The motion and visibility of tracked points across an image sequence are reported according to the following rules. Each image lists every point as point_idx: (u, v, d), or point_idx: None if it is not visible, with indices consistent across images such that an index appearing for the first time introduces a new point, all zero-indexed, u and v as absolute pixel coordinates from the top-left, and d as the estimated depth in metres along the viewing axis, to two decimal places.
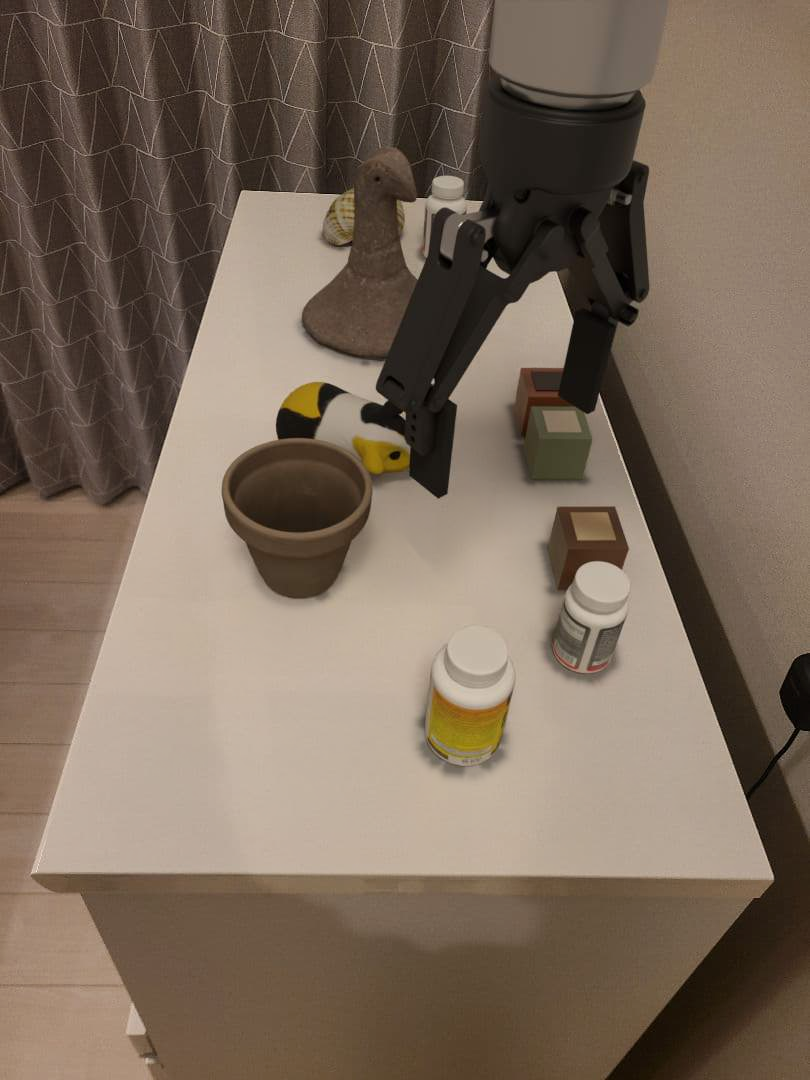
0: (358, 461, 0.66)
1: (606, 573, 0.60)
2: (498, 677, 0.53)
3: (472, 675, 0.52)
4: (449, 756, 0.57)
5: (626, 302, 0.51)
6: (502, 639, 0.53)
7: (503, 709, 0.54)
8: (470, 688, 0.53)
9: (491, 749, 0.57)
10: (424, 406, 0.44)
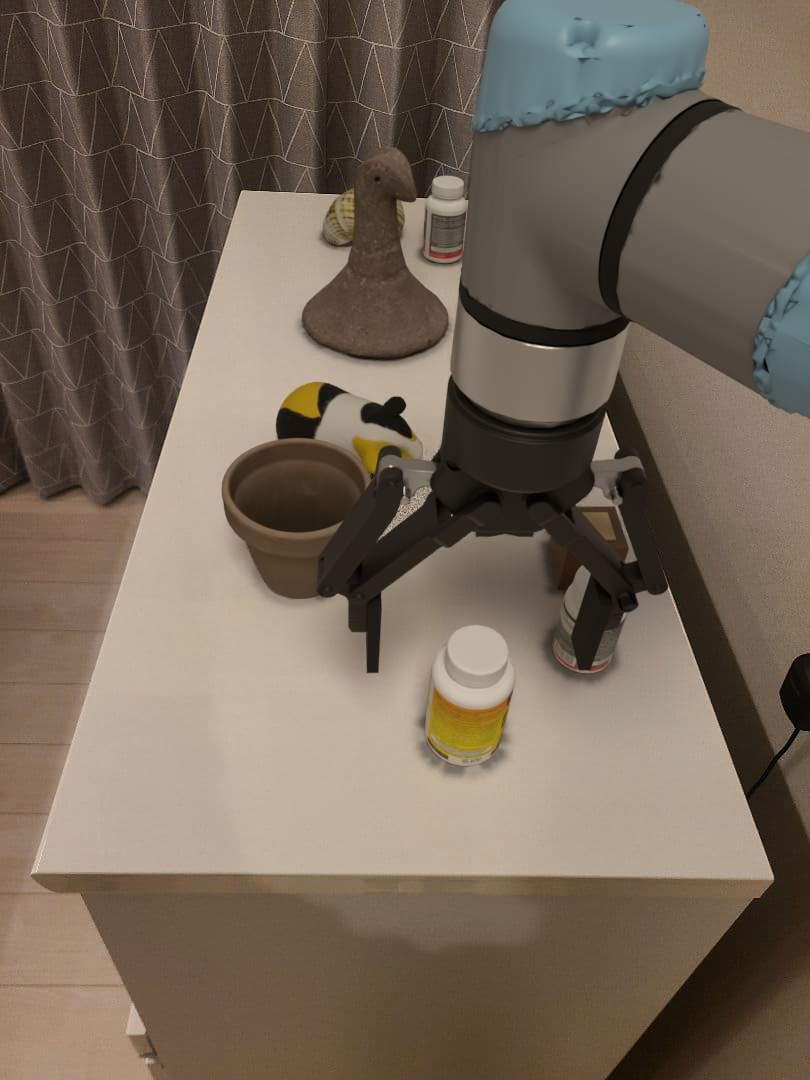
0: (358, 461, 0.66)
1: None
2: (498, 677, 0.53)
3: (473, 675, 0.52)
4: (449, 756, 0.57)
5: (629, 589, 0.48)
6: (502, 639, 0.53)
7: (503, 709, 0.54)
8: (470, 688, 0.53)
9: (491, 749, 0.57)
10: (349, 595, 0.48)
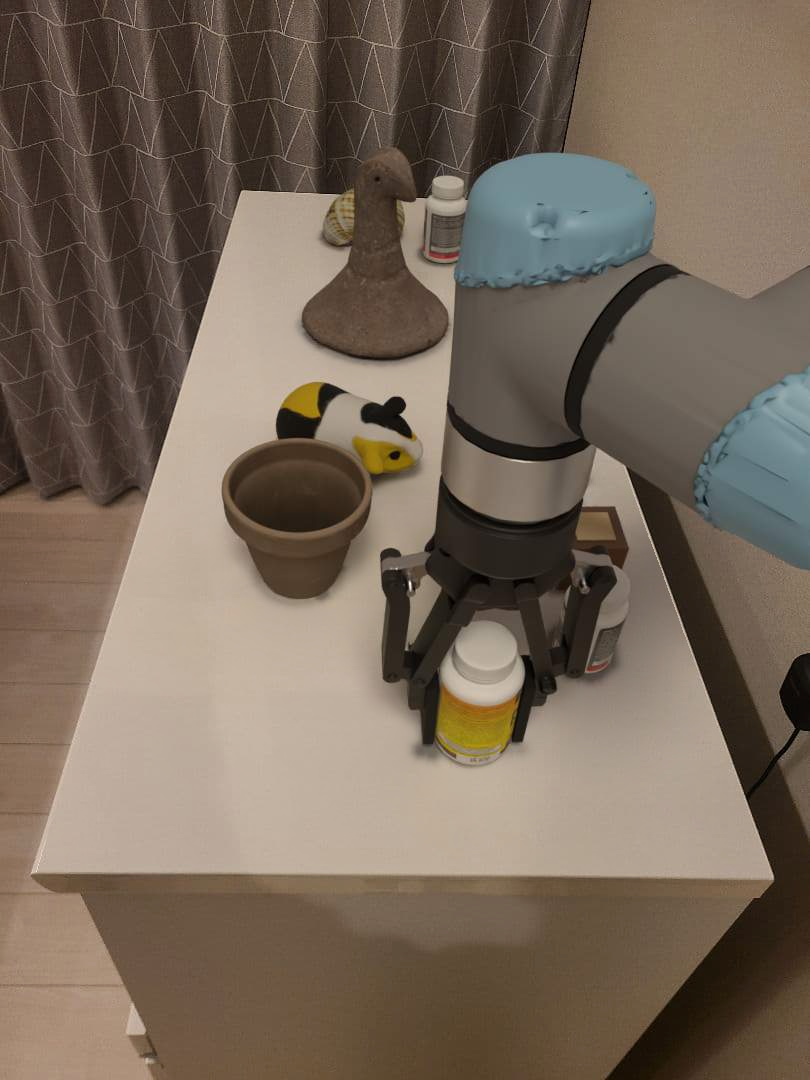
0: (358, 461, 0.66)
1: None
2: (506, 673, 0.52)
3: (480, 670, 0.51)
4: (457, 755, 0.56)
5: (553, 675, 0.53)
6: (511, 635, 0.53)
7: (512, 706, 0.53)
8: (478, 684, 0.52)
9: (500, 748, 0.56)
10: None
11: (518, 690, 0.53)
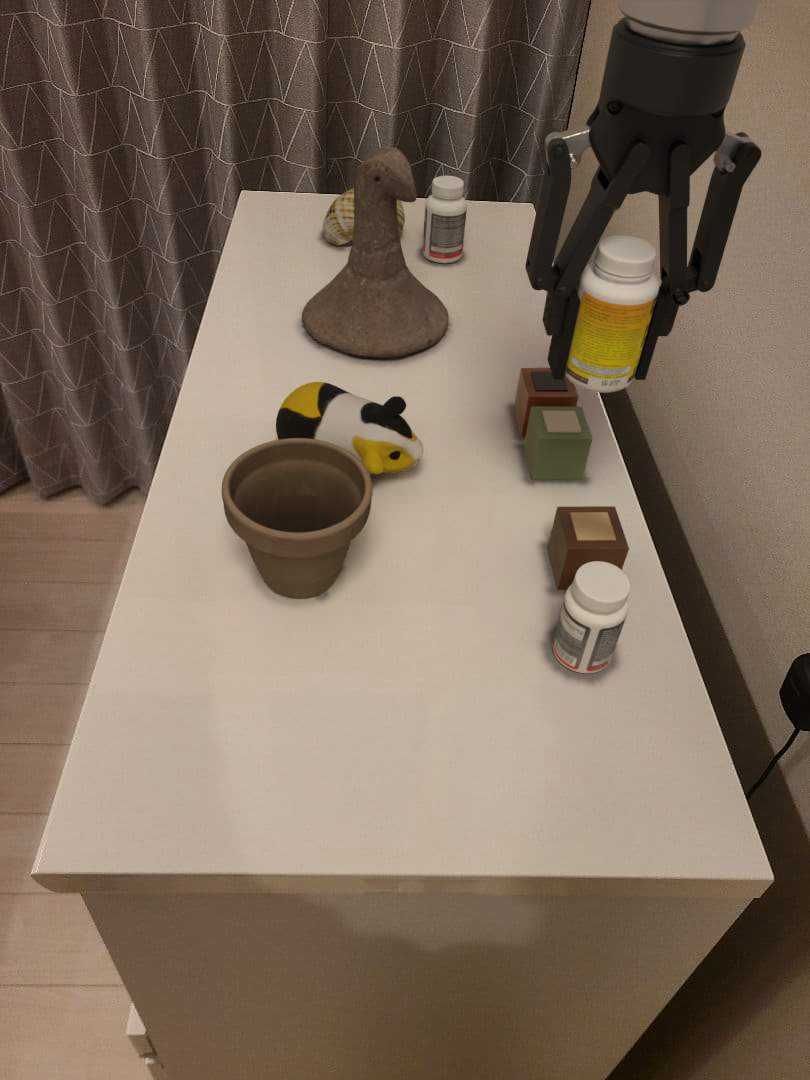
0: (358, 461, 0.66)
1: (606, 573, 0.60)
2: (647, 272, 0.56)
3: (626, 263, 0.55)
4: (589, 379, 0.61)
5: (685, 286, 0.58)
6: (649, 243, 0.57)
7: (647, 315, 0.58)
8: (620, 285, 0.57)
9: (629, 373, 0.61)
10: (555, 294, 0.58)
11: (655, 295, 0.57)
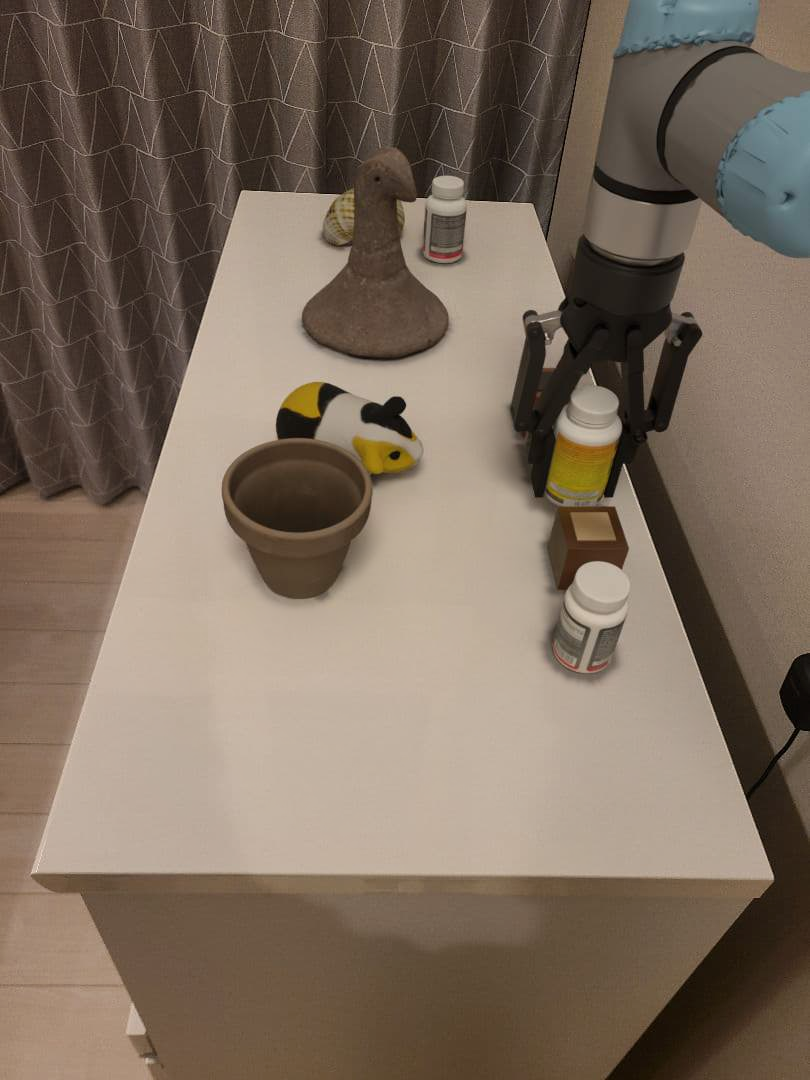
0: (358, 461, 0.66)
1: (606, 573, 0.60)
2: (611, 420, 0.67)
3: (592, 414, 0.66)
4: (564, 500, 0.72)
5: (644, 428, 0.69)
6: (613, 393, 0.68)
7: (612, 452, 0.69)
8: (588, 429, 0.68)
9: (598, 495, 0.72)
10: (535, 433, 0.69)
11: (618, 437, 0.68)
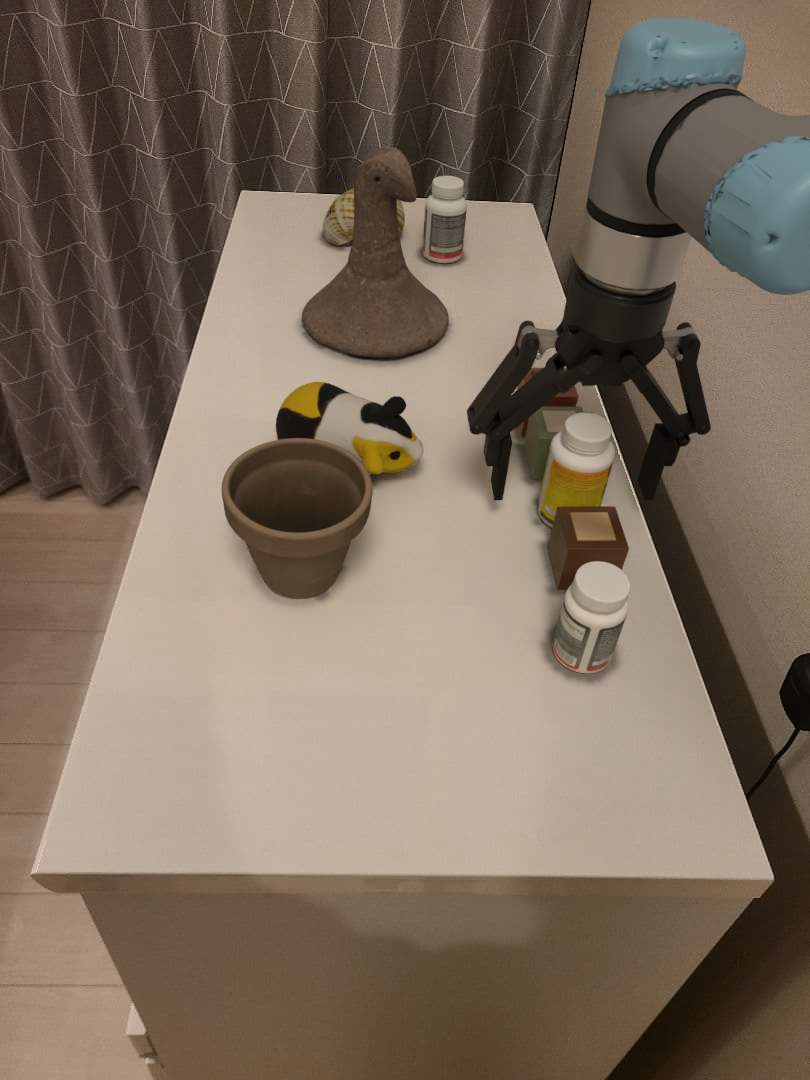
0: (358, 461, 0.66)
1: (606, 573, 0.60)
2: (604, 447, 0.69)
3: (586, 442, 0.68)
4: None
5: (684, 429, 0.69)
6: (606, 421, 0.70)
7: (605, 477, 0.71)
8: (582, 456, 0.70)
9: None
10: (489, 434, 0.69)
11: (611, 463, 0.70)
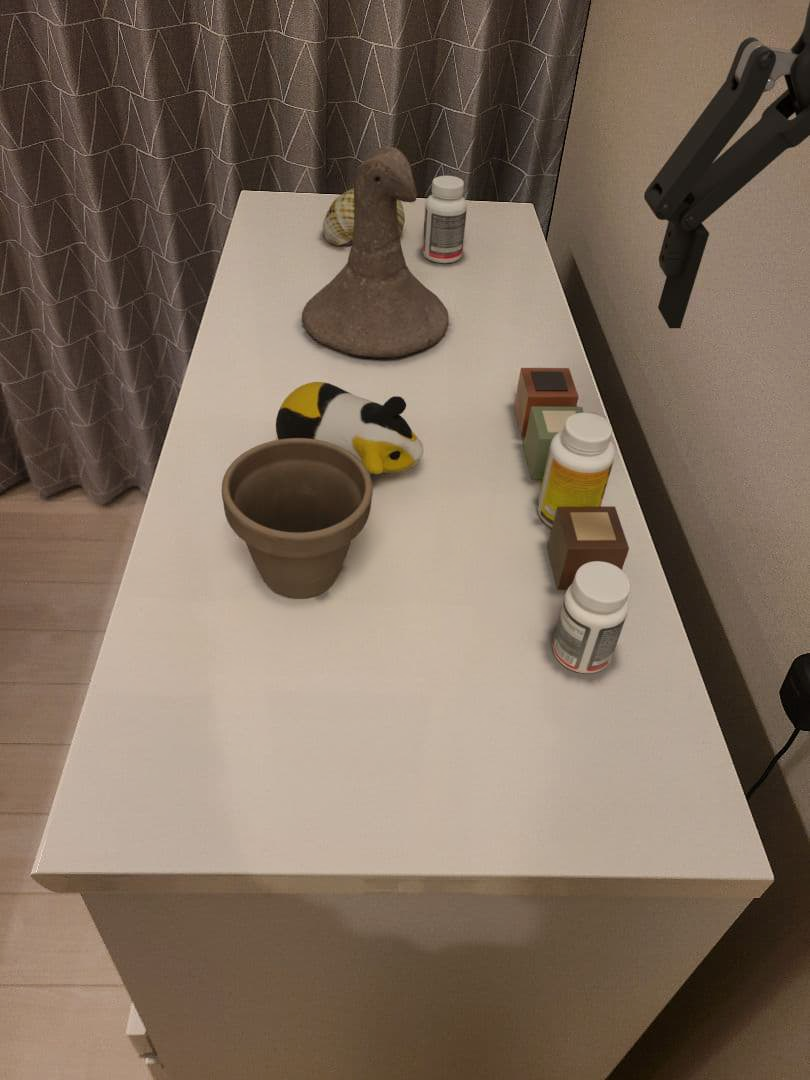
0: (358, 461, 0.66)
1: (606, 573, 0.60)
2: (604, 447, 0.69)
3: (586, 442, 0.68)
4: None
5: None
6: (606, 421, 0.70)
7: (605, 477, 0.71)
8: (582, 456, 0.70)
9: None
10: (678, 222, 0.51)
11: (611, 463, 0.70)
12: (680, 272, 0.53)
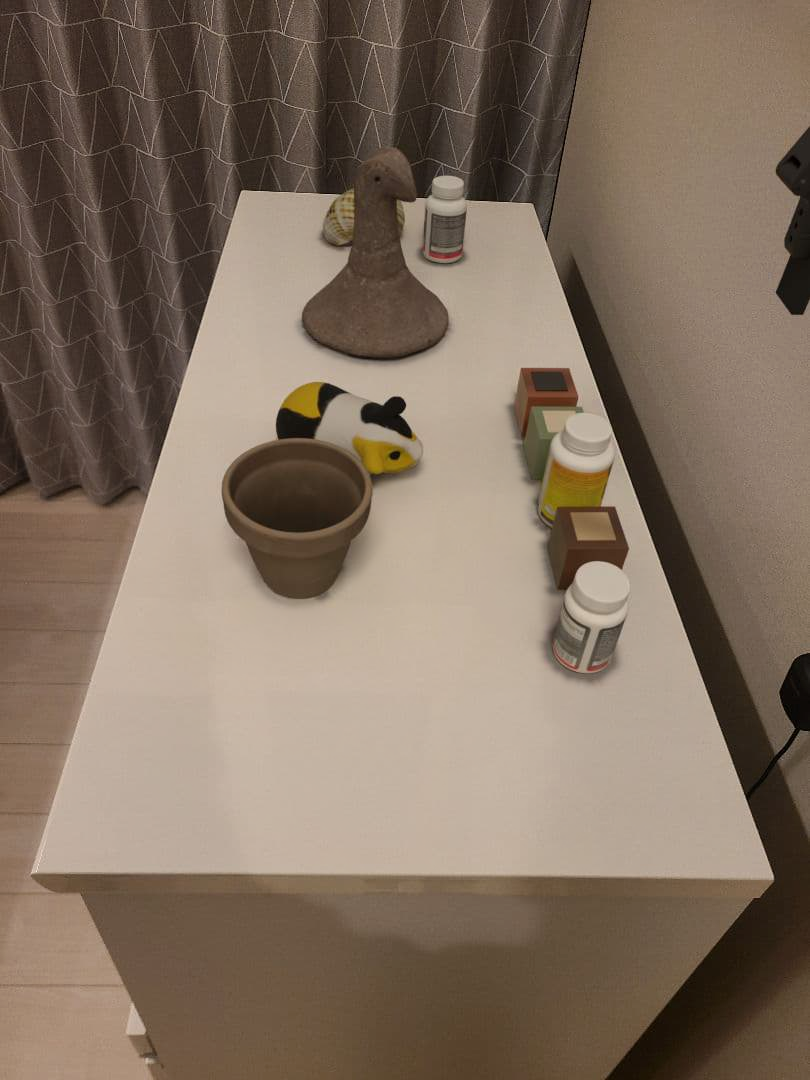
0: (358, 461, 0.66)
1: (606, 573, 0.60)
2: (604, 447, 0.69)
3: (586, 442, 0.68)
4: None
5: None
6: (606, 421, 0.70)
7: (605, 477, 0.71)
8: (582, 456, 0.70)
9: None
10: None
11: (611, 463, 0.70)
12: (809, 254, 0.49)
